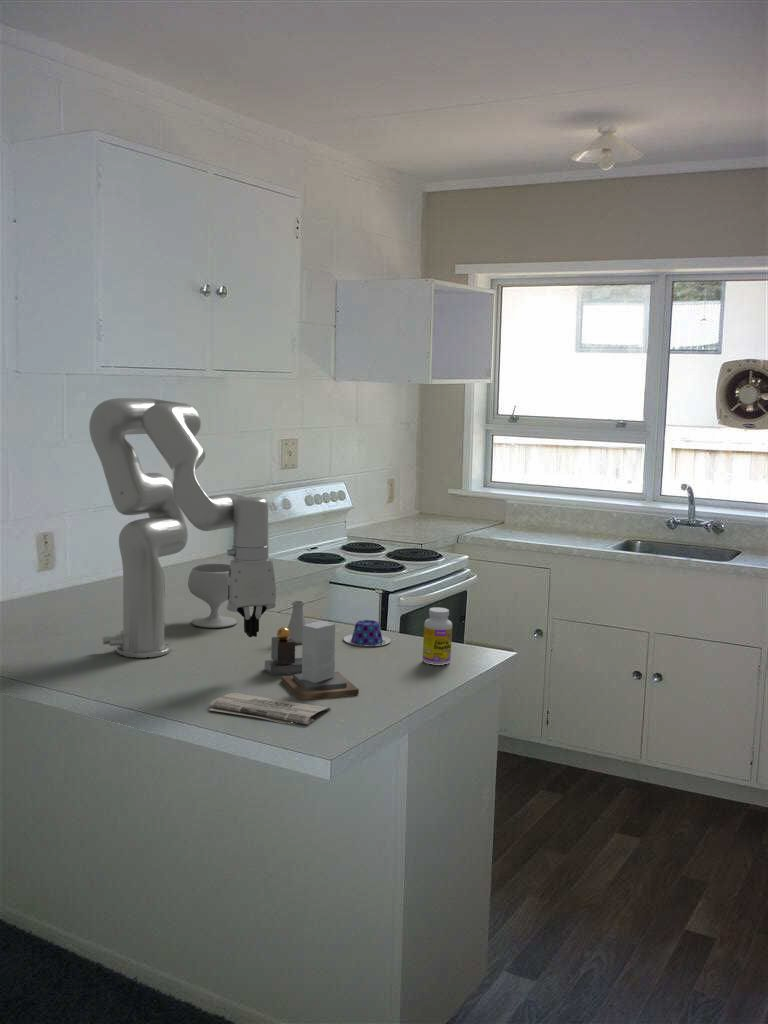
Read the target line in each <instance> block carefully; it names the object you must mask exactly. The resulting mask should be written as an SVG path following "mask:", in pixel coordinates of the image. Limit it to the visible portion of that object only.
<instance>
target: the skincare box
mask: <svg viewBox="0 0 768 1024" xmlns="http://www.w3.org/2000/svg"><path fill="white" fill-rule="evenodd" d="M335 637H336V623H332V622H329V621H326V620H325V621H324V620H318V621H315V622H311V623H306V625H303V642H302V643H301V645H302V649H301V650H302V651H301V658H302V673H301V674H302V679H303V680H306V681H309V682H312V683H318V682H321V681H324V680H327V679H330V678H333V677H334V672H335V667H334V662H335V652H336V650H335V648H336V647H335V646H336V638H335Z"/></svg>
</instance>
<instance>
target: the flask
mask: <svg viewBox="0 0 768 1024" xmlns="http://www.w3.org/2000/svg"><path fill="white" fill-rule="evenodd" d="M291 605H292V611H291V616H290V619H289V622H288V626H287V627H286V628H287V629H289V631H290V638H291V639H292V640H294V641H295V644H302V642H303V625H306V624H307V622H306V619H305V615H304V605H305V601H304V600H303V601H302V600H292V602H291Z"/></svg>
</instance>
